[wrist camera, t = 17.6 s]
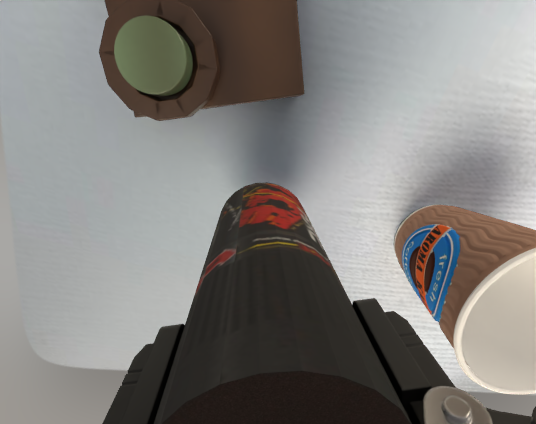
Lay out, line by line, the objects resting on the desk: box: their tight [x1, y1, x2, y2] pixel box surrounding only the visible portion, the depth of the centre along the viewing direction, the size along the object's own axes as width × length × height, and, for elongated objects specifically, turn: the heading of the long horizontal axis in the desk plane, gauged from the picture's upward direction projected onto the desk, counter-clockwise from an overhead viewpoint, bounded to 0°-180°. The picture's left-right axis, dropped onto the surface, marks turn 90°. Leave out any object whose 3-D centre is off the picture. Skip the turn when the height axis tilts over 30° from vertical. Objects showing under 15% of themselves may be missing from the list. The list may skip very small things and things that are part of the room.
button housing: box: [99, 0, 304, 121], centre depth 20 cm, size 12×10×4 cm
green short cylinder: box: [114, 15, 193, 96], centre depth 18 cm, size 4×4×2 cm
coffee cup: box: [394, 205, 536, 394], centre depth 22 cm, size 10×10×12 cm
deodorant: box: [154, 183, 412, 424], centre depth 14 cm, size 6×6×15 cm
